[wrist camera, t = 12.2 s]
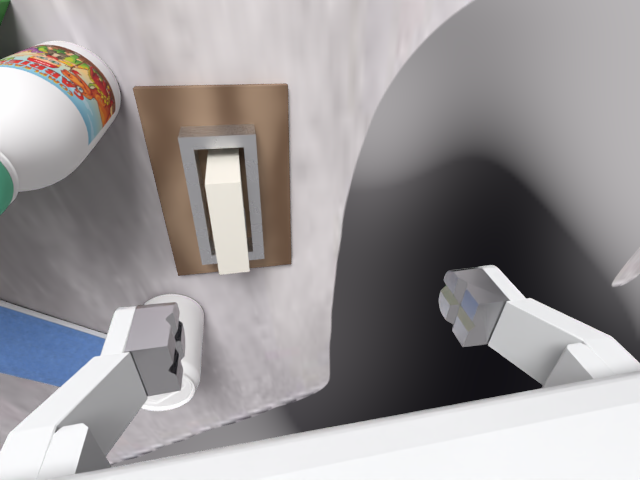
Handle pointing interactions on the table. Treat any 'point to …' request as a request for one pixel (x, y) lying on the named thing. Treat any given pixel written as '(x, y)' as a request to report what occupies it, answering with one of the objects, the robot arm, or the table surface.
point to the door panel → (227, 210)
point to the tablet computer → (44, 345)
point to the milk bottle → (51, 114)
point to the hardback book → (3, 8)
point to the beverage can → (192, 360)
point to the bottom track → (189, 144)
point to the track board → (163, 147)
